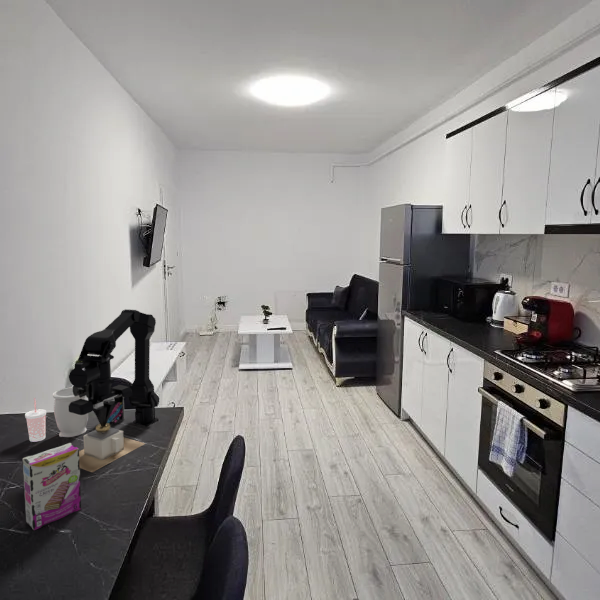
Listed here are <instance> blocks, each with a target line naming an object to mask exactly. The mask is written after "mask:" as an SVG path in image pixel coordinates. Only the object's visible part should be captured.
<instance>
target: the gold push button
mask: <svg viewBox="0 0 600 600" xmlns="http://www.w3.org/2000/svg"><path fill="white" fill-rule="evenodd" d="M110 427H111V425H110V424H109V423H106V425H105V426H101V425H100V423H98V424H97V425H96V426H95V430H96V431H97V432H102V433H104V432H106V431H108V430H110Z"/></svg>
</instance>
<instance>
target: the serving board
mask: <svg viewBox="0 0 600 600" xmlns="http://www.w3.org/2000/svg"><path fill="white" fill-rule="evenodd" d="M123 440H124V449H123V450H122V451H120V452H118V453H116V454H114V455H112V456H110V457H108V458H106V459H104V460H100V459H97V458H94V457H91V456H88V455H85V454H84V448H83V449H81V450H79V466H80V470H81V469H82V470H85V471H86V472H90V473H94V472H96V471H97V470H99V469H101V468H103V467H105V466H106V465H109V464H110V463H113V462H115V461H116V460H118V459H119V458H122V457H124V456H126V455H127V454H129V453H131V452H133V451H135V450H137V449H139V448H140V447H142V446H144V445H146V443H145V442H141V441H137V440H135V439H132V438H128V437H126V436H125V437H124V436H123Z"/></svg>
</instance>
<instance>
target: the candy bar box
mask: <svg viewBox="0 0 600 600" xmlns="http://www.w3.org/2000/svg"><path fill="white" fill-rule="evenodd" d="M79 451H80V448H78V447H77V446H76V445H74V444H73V443H71V442H68V443H66V444H62V445H59V446H57V447H53V448H51V449H47V450H45V451H41V452H37V453H34V454H31V455H27V456H25V457H23V458H22V471H23V472H22V474H23V490H24V507H25V508H24V509H25V521H26V523H27V525H29V527H30V528H31V529H32V530H33V531H36V530H38V529H40V528H43V527H44V526H48V525H49V524H51V523H53V522H56V521H58V520H60V519H63V518H65V517H67V516H69V515H71V514H75V513H77V512H78V511H80V510H82V493H81V468H80V466H79Z"/></svg>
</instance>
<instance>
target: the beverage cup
mask: <svg viewBox="0 0 600 600" xmlns="http://www.w3.org/2000/svg"><path fill="white" fill-rule="evenodd" d="M33 405H34V407H33V408H34V409H32V410H30V411H26V412H25V414H24V417H25V419H26V424H27V431H28V438H29V441H30V442H31V443H32V442H34V443H35V442H41V441H43V440H45V439H46V428H47V427H46V416H47V410H46V409H43V408H41V409H39V408H38V409H37V401H36V397H33Z"/></svg>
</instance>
